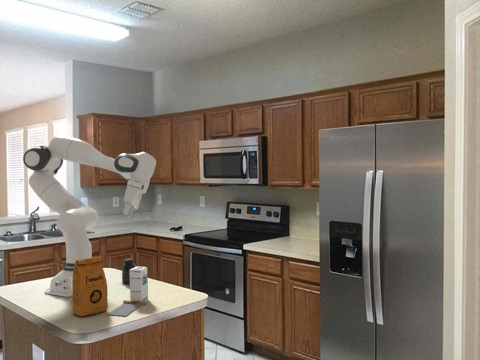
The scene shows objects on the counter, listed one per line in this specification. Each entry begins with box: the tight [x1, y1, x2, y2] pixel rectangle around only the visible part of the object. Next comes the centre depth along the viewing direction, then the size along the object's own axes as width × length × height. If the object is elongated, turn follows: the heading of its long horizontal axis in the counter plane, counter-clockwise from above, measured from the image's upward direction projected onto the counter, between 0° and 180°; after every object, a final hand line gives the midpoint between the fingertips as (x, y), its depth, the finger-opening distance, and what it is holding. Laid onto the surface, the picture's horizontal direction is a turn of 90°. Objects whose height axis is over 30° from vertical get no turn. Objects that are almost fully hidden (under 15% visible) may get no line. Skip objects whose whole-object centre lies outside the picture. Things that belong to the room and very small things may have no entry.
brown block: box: [122, 299, 147, 306], centre depth 173 cm, size 10×1×1 cm, turn 78°
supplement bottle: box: [121, 257, 137, 285], centre depth 206 cm, size 7×7×12 cm
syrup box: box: [129, 266, 149, 302], centre depth 177 cm, size 6×6×14 cm
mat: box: [106, 303, 142, 317], centre depth 166 cm, size 8×13×1 cm, turn 168°
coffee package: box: [71, 255, 109, 317], centre depth 163 cm, size 10×12×22 cm
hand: (126, 215), depth 184 cm, fingers open, 8 cm apart
